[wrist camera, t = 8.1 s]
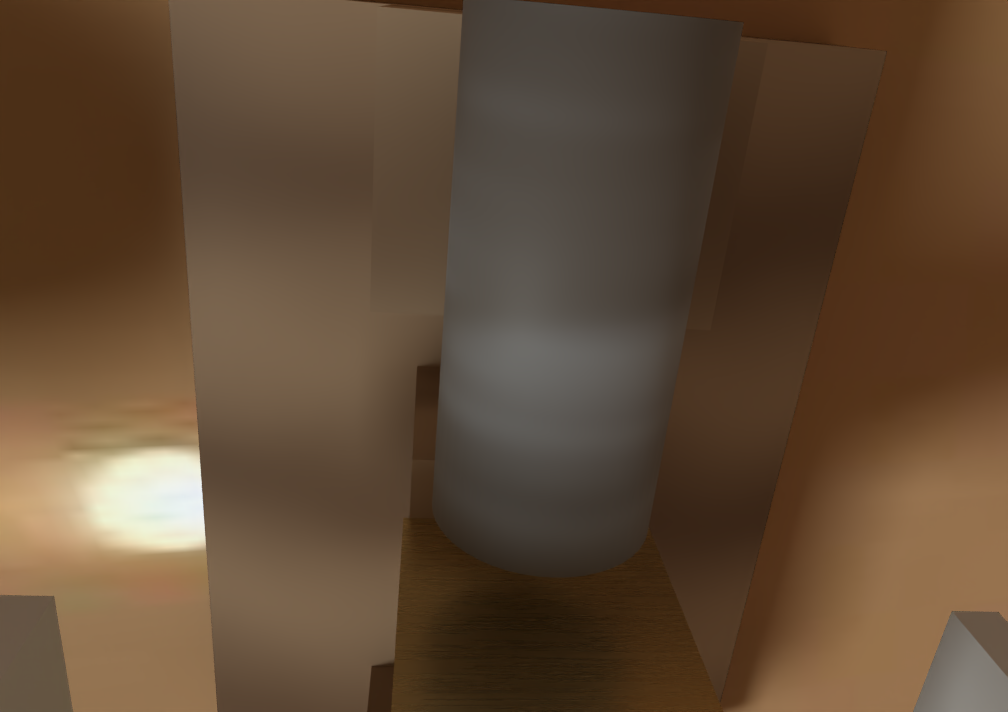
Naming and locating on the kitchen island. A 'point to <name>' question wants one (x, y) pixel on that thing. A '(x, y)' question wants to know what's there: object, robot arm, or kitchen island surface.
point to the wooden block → (540, 636)
